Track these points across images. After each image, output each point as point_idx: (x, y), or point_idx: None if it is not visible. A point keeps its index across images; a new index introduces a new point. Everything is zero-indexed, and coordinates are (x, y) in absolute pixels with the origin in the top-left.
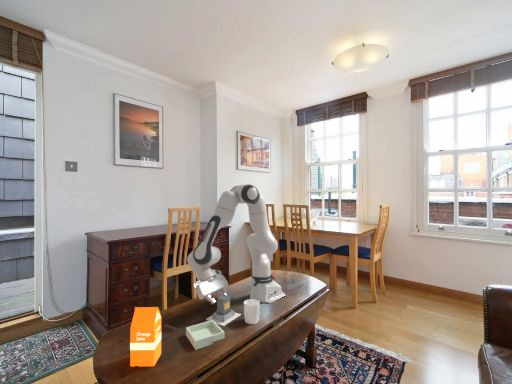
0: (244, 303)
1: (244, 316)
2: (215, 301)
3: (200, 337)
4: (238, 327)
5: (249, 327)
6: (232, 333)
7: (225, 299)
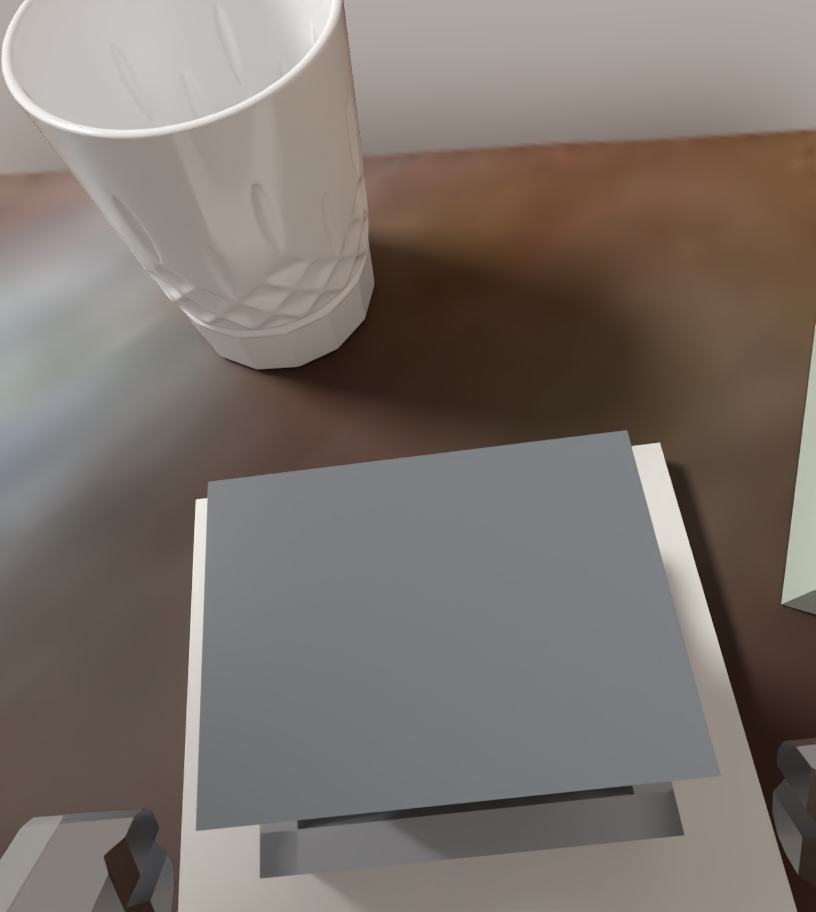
0: (308, 54)
1: (334, 286)
2: (807, 739)
3: None
4: (490, 330)
5: (399, 243)
6: (650, 288)
7: (496, 456)
